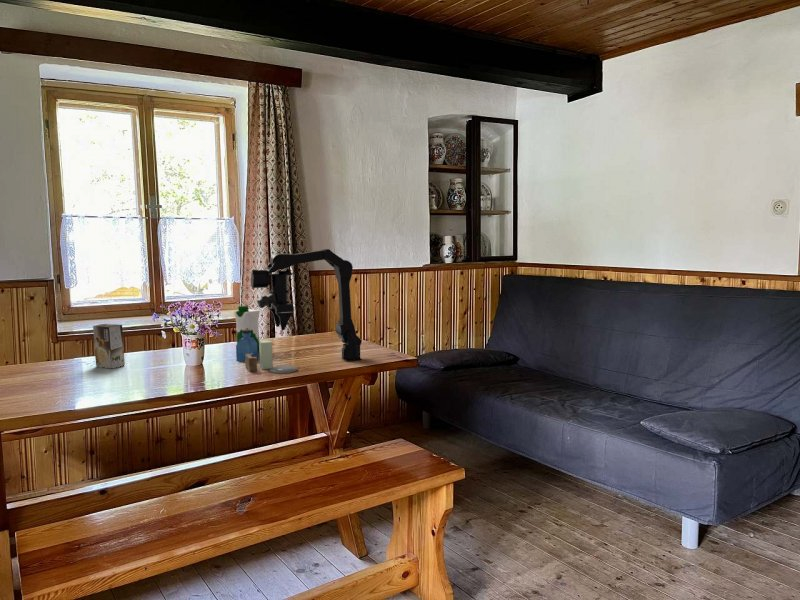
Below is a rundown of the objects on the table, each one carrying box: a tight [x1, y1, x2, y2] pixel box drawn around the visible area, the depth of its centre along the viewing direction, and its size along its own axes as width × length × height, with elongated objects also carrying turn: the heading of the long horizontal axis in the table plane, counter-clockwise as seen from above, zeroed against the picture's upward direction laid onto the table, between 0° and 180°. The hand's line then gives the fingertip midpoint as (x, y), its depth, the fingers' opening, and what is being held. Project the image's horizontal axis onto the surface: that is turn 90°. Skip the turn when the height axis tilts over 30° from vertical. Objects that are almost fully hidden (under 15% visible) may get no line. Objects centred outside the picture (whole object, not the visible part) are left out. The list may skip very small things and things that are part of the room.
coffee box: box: [92, 323, 126, 369], centre depth 234 cm, size 9×6×16 cm
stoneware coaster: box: [269, 365, 298, 374], centre depth 226 cm, size 10×10×1 cm
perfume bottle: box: [235, 329, 259, 362], centre depth 245 cm, size 6×6×12 cm
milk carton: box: [233, 305, 261, 353], centre depth 258 cm, size 9×9×20 cm
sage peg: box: [258, 340, 274, 370], centre depth 230 cm, size 4×4×10 cm
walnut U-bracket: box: [244, 354, 258, 373], centre depth 228 cm, size 3×9×5 cm, turn 24°
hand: (280, 328), depth 231 cm, fingers open, 9 cm apart
